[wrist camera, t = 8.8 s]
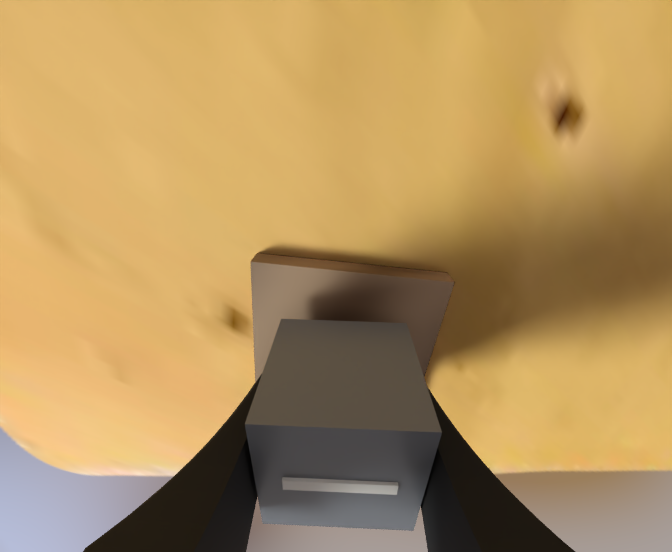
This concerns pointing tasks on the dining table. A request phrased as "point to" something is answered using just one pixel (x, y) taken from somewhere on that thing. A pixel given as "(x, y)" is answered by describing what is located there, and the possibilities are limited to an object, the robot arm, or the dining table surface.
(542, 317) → the dining table surface
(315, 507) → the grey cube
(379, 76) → the dining table surface
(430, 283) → the base
